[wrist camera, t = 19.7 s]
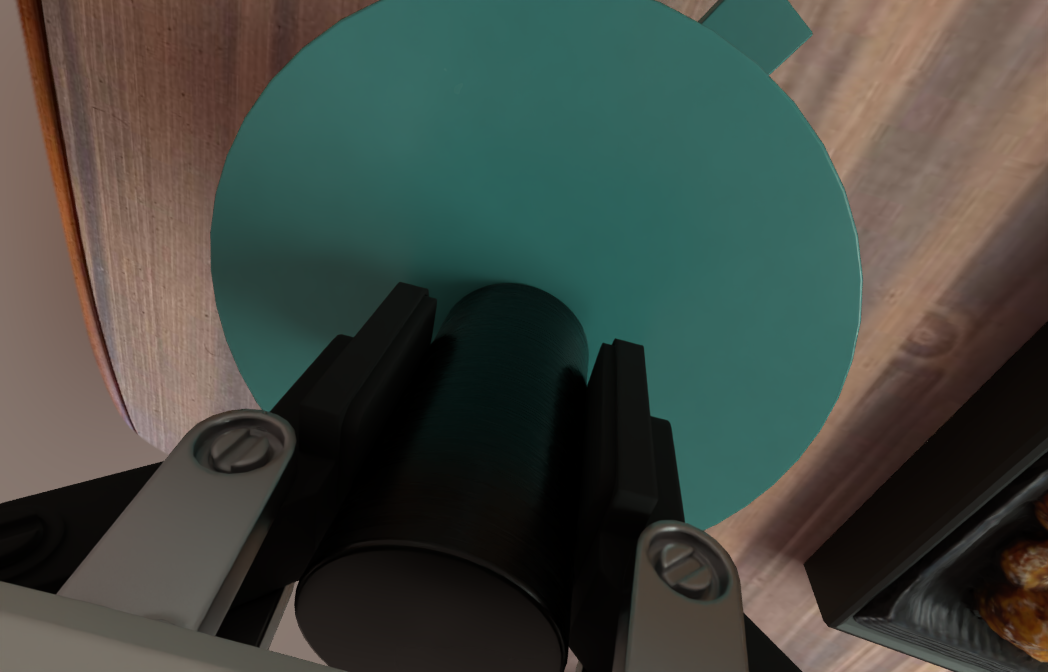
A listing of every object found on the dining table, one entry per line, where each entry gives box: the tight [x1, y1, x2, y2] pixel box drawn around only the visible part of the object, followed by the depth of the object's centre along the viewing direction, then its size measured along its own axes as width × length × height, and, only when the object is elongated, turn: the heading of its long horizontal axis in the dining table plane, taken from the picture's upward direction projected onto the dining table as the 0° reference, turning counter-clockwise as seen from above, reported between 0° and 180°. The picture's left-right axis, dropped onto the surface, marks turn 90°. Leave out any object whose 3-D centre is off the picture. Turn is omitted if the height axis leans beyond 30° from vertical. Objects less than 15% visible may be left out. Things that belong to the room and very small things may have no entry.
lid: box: [210, 0, 863, 672], centre depth 10 cm, size 14×14×8 cm
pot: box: [698, 0, 813, 75], centre depth 22 cm, size 13×18×10 cm
